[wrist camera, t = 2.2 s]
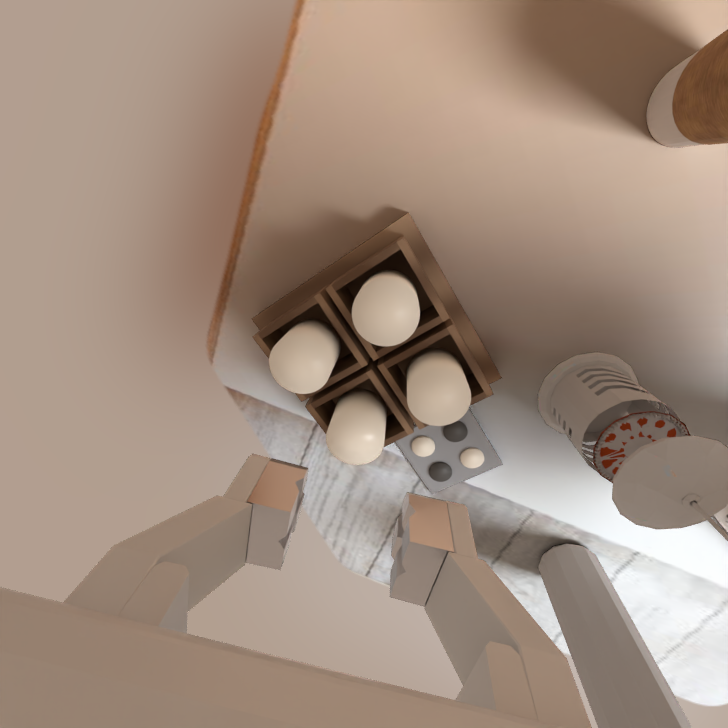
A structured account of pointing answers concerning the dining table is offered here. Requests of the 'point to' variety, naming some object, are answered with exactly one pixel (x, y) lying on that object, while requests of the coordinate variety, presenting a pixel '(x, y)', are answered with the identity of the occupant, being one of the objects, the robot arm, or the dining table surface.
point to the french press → (636, 443)
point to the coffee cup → (693, 99)
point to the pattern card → (449, 452)
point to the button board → (372, 362)
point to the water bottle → (606, 644)
